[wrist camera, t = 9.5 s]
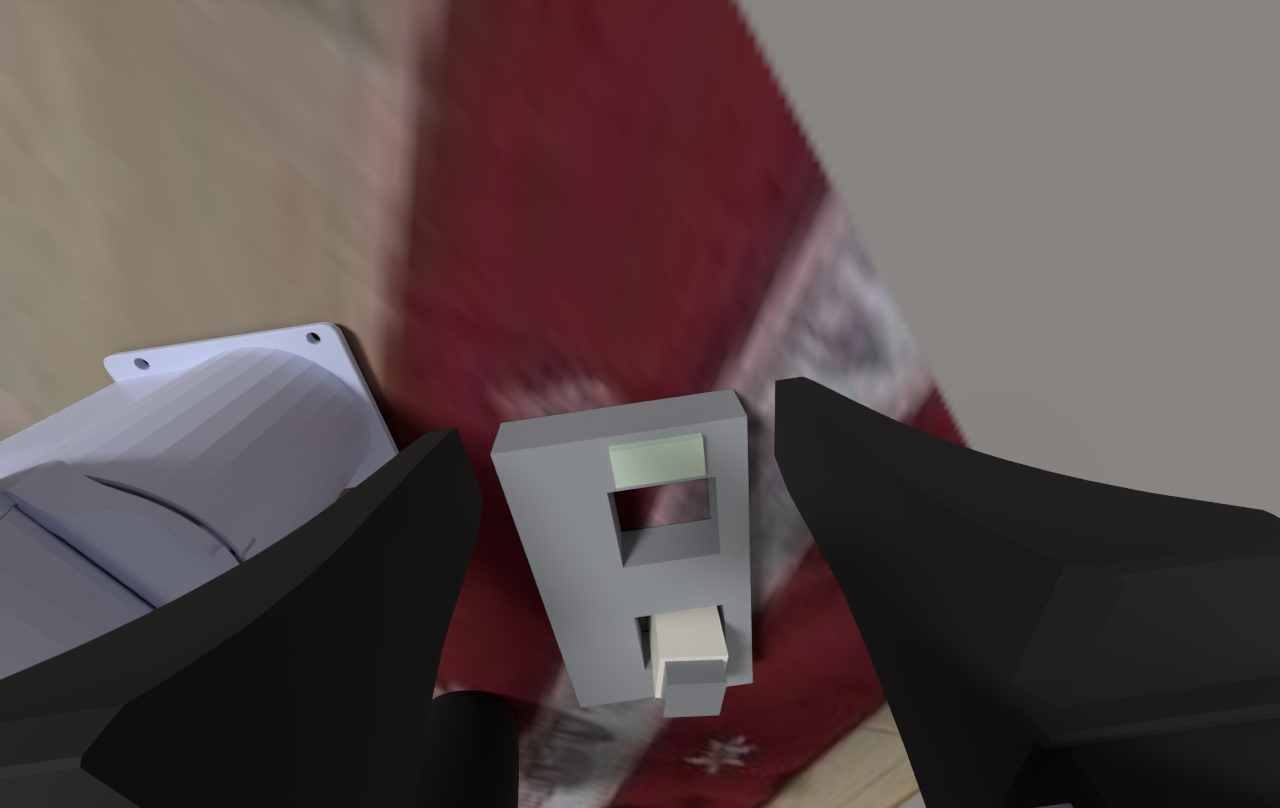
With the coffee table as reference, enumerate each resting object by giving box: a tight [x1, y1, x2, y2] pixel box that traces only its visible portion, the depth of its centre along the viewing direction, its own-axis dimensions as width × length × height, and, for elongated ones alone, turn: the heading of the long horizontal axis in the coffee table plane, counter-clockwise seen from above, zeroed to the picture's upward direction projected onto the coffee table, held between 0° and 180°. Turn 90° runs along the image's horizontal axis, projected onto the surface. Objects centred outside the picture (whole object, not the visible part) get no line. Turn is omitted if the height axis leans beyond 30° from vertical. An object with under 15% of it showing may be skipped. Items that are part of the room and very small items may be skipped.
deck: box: [491, 389, 753, 708], centre depth 26 cm, size 11×20×3 cm, turn 7°
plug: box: [648, 606, 728, 718], centre depth 27 cm, size 4×4×6 cm
